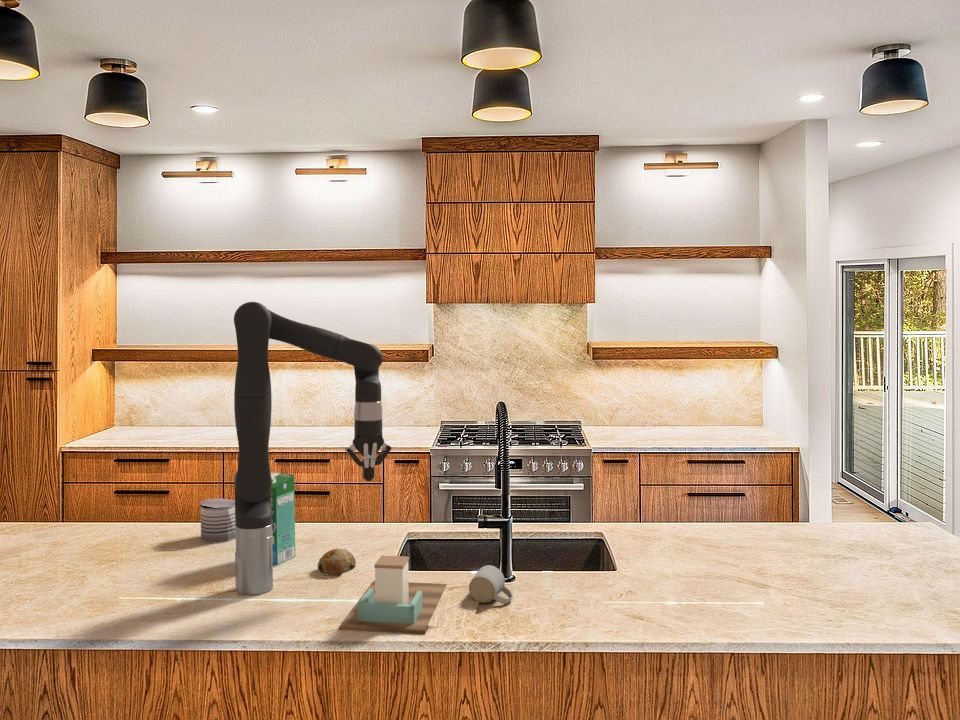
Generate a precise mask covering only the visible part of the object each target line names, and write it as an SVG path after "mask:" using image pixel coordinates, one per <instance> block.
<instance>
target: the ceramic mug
mask: <svg viewBox="0 0 960 720" xmlns="http://www.w3.org/2000/svg"><path fill="white" fill-rule="evenodd" d="M505 583H506V579H505V576H504V574H503V572H502V571H501V570H500V568H497V566H494V565H490V564H488V565H484V566H482V567H480V568H479V569H478V570H477V572H476V573H475V574H474V576H473V577H472V578H471V579H470V582H469V584H468V585H469V586H468V592H469V595H470V596H471V599H473V600H474V601H476V602H478V603H480V604H488V603H490V602H492V601H493V600H494V601H496V602H497V603H500V604H504V605H506V604H507V603H508V604H509V602H510V603H511V601H512V600H513V597H514V595H513V592H512V591H511V590H510V589H509V588H508V587H506V586H505ZM501 592H502V593H504V594H505V595H506V596H507V597H508V598H505V597H502V596H500V595H499V594H500V593H501Z"/></svg>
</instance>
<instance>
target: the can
mask: <svg viewBox="0 0 960 720" xmlns="http://www.w3.org/2000/svg"><path fill="white" fill-rule="evenodd" d="M199 504H201V505H200V506H199V507H200V540H201V541H202V542H204V543H206V544H209V543H210V544H220V543H221V544H222V543H227V542H231V541H234V540H236V527H235V526H236V525H235V499H234V500H233V499H226V498H207V499H205V500H201V501H199Z"/></svg>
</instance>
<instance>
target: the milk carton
mask: <svg viewBox="0 0 960 720" xmlns="http://www.w3.org/2000/svg"><path fill="white" fill-rule="evenodd" d="M270 472H271V471H270ZM271 478H272V487H271V507H272V550H273V566H274V565H277V566H279V565H281V564H283V563H285V562H287V560H288V561H289V559H290V560H291V558H292V559H293V557H294V558H295V557H296V515H295V513H296V512H295V511H296V507H295V506H296V504H295V501H296V500H295V474H293V473H291V474H290V473H285V472H284V473H282V472H274V471H272V472H271ZM278 564H279V565H278Z"/></svg>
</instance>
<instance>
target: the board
mask: <svg viewBox="0 0 960 720" xmlns="http://www.w3.org/2000/svg"><path fill="white" fill-rule="evenodd" d="M446 587H447V583H434V582H433V583H432V582H431V583H430V582H429V583H428V582H412V581H411V582H409V605H410V604H411V602H412V600H413V598H414V597H415V595H416V593H417V591H423V607H422V609H421V611H420V613H419V615H418V617H417V619H416V621H415V623H414V624H407V623H388V622H369V621H358V611H357V604H358V603H359V601H360V600H361V599H362V597H363V596H364V595H365V593H366V592H367V591H368V589H374V603H375V580H373V581H372V582H371V583H370V585H368V587H367V589H365V592H364V593H363V594H362V595H361V597H360V598H359V599H358V601H356V604H354V606H353V608H351V610H350V611H349V612H348V614H347V615H346V617H345V618H344V619H343V621H342V622H341V623H340V625H339V630H344V631H345V630H347V631H362V632H363V631H366V632H383V633H385V632H386V633H402V634H420V635H426V633H427V631H428V629H429V627H430V625H429V623H430V621H431V620H432V617H433V615H434V613H435V611H436V608H437V606H438V604H439V602H440V600H441V598H442V595H443V594H444V592H445V589H446Z"/></svg>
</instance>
